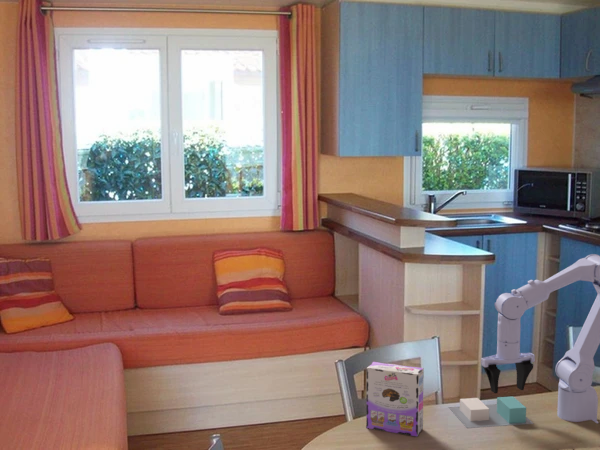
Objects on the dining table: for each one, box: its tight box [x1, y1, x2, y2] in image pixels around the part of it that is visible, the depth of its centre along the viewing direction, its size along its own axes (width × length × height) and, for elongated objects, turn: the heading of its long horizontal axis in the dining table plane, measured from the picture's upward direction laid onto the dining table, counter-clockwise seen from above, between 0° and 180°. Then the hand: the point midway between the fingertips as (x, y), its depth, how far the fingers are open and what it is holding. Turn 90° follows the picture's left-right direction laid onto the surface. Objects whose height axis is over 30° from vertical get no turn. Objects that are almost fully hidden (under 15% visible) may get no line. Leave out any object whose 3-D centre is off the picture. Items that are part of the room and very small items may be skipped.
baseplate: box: [447, 397, 534, 429], centre depth 196 cm, size 18×14×4 cm
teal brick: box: [496, 396, 527, 424], centre depth 194 cm, size 4×8×4 cm, turn 8°
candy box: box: [365, 361, 425, 437], centre depth 189 cm, size 14×6×16 cm, turn 65°
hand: (507, 390), depth 193 cm, fingers open, 7 cm apart
